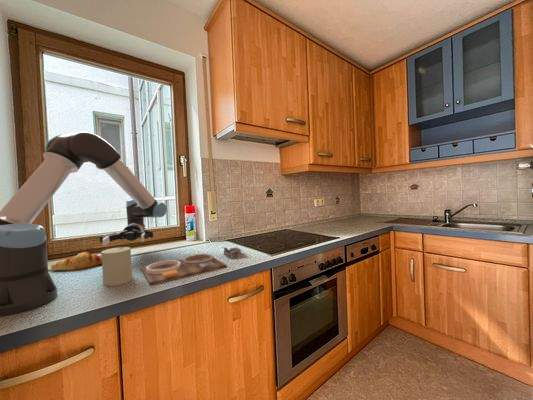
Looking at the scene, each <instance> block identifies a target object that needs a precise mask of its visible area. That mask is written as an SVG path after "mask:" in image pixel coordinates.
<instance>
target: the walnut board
mask: <svg viewBox="0 0 533 400" xmlns="http://www.w3.org/2000/svg"><path fill="white" fill-rule="evenodd" d="M176 261H180V262H181V267H180V268H179V269H178V270H177V271H178V275H176V276H171V277H167V278H164V277H163V276H162V274H149V273H147V272H146V267H147V266H148V265H146V266H141V267H140V271H141V273H142V275H143V276H144V278H145V279H146V281H147V283H148V284H149V286H153V285H157V284H161V283H165V282H170V281H174V280H179V279H182V278H186V277H191V276H195V275H198V274H202V273H207V272H211V271H215V270H220V269H222V268H223V269H224V268H226V267H227V264H226V263H224V262H222V261H220V260H219V259H217V258H215V257H214V255H212V254H210V253H209V254H207V253H199V254H198V253H196V254H193V255H188V256H186V257H184V258H182V259H177V260H176ZM174 266H176V265H175V264H167V265H160V266H156V267H154V268H151V269H154V270H159V269H167V268H171V267H174Z"/></svg>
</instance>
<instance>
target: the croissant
mask: <svg viewBox="0 0 533 400" xmlns="http://www.w3.org/2000/svg"><path fill="white" fill-rule="evenodd" d="M99 265H102V256H101V254H100V255H99V254H96V253H90V252H88V251H83V252H80V253H78V254H77V255H73V256H68V257H66V258H65V259H63V260H59V261H57V262H56V263H54V264H51V265H50V269H51V270H54V271H77V270H83V269H87V268H91V267H96V266H99Z"/></svg>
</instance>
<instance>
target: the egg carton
mask: <svg viewBox="0 0 533 400" xmlns="http://www.w3.org/2000/svg"><path fill="white" fill-rule="evenodd" d="M222 249H224V250H223V255H224V256H225V257H226V258H227V259H229V260H233V259H234V258H237V259H239V258H241V257H242V249H241V248H239V247H238V246H236V247H233V248H231V247H230V248H229V249H228V247H225V246H223V248H222Z"/></svg>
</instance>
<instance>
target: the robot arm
mask: <svg viewBox="0 0 533 400" xmlns="http://www.w3.org/2000/svg"><path fill="white" fill-rule="evenodd" d="M44 149H45V151H44V152H43V153H42V157H43V158H44V160H43V162H41V164H40V165H38V167H37V168H36V169H35V171H34V172H32V174H31V175H30V176H29V177H28V179H27V180H26V181H25V182H24V184H22V185H21V186H20V188H18V190H17V191H16V192H15V194H14V195H13V196H12V197H11V198H10V199H9V201H8V202H7V203H6V204H4V206H3V207H2V208H1V210H0V317H2V316H9V315H13V314H14V315H15V314H17V313H22V312H25V311H29V310H32V309H35V308H37V307H38V308H39V307H40V306H43V305H45V304H47V303H49V302H51V301H53V300H54V299H55V298H57V297H58V287H57V285H56V284H55V282H54V280H53V279H52V276H51V275H50V273H49V265H48V248H47V247H48V246H47V235H46V229H45V227H44V226H43V225H40V224H37V223H33V222H34V221H35V220H36V218H37V217H38V216H39V215H40V213H41V212H42V211H43V209H44V208H45V207H46V206H47V204H48V203H49V202H50V200H51V199H52V197H53V196H54V195H55V194H56V193H57V191H58V190H59V189H60V187H61V186H62V185H63V183H64V182H65V181H66V179H68V177H69V175H70V174H71V173H72V174H74V173H77V172H79V170H80V168H81V167H82V166H83V165H84V164H85V163H91V164H93V165H95V166H96V167H97V168H98V169H99V170H103V171H105V173H106V174H108V175H109V177H110V178H112V180H113V181H114V182H115V183H116V184H117V185H118V186H119V187H120V188H121V189H122V190H123V192H125V193H126V194H127V195H128V196H129V197H130V199H126V201H125V202H126V203H125V204H126V205H125V208H126V209H125V210H126V220H127V221H126V222H127V226H126V227H124V228H123V230H122V231H119V232H116V231H114V232H112V233H108V234H106V235H100V236H99V243H102V247H106V246H107V245H108V244H109V243H110V242H114V241H117V240H121V241H122V240H126V241H128V242H129V241H130V242H132V241H133V242H134V241H136V240H137V239H139V238H140V241H141V243H143V242H145V240H146V239H148V238H152V239H153V238H154V232H153V231H151V230H148V229H146V225H145V222H144V218H162V217H165V215H166V214H167V211H168V209H167V205H166V204H165V203H164V202H161V201H159V202H158V201H157V200H156V199H155V198H154V196H153V195H152V194H151V193H150V192H149V191H148V190H147V188H146V187H145V186H144V184H142V182H141V181H140V180H139V179H138V178H137V176H135V174H134V173H133V172H132V171H131V169H130V168H129V167H128V166H127V165H126V164H125V163H124V161H122V155H121V154H120V153H119V152H118V151H117V150H116V149H115V147H114V146H112V145H111V144H110V143H109V142H108V141H107V140H106V139H104V138H102V137H101V136H100V135H97V134H95V133H93V132H88V131H79V132H75V133H74V132H73V133H67V134H66V133H65V134H63V133H62V134H59V135H56V136H53V137H52V138H50V139H49V140H48V141H47V142H46V144H45V148H44Z"/></svg>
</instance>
